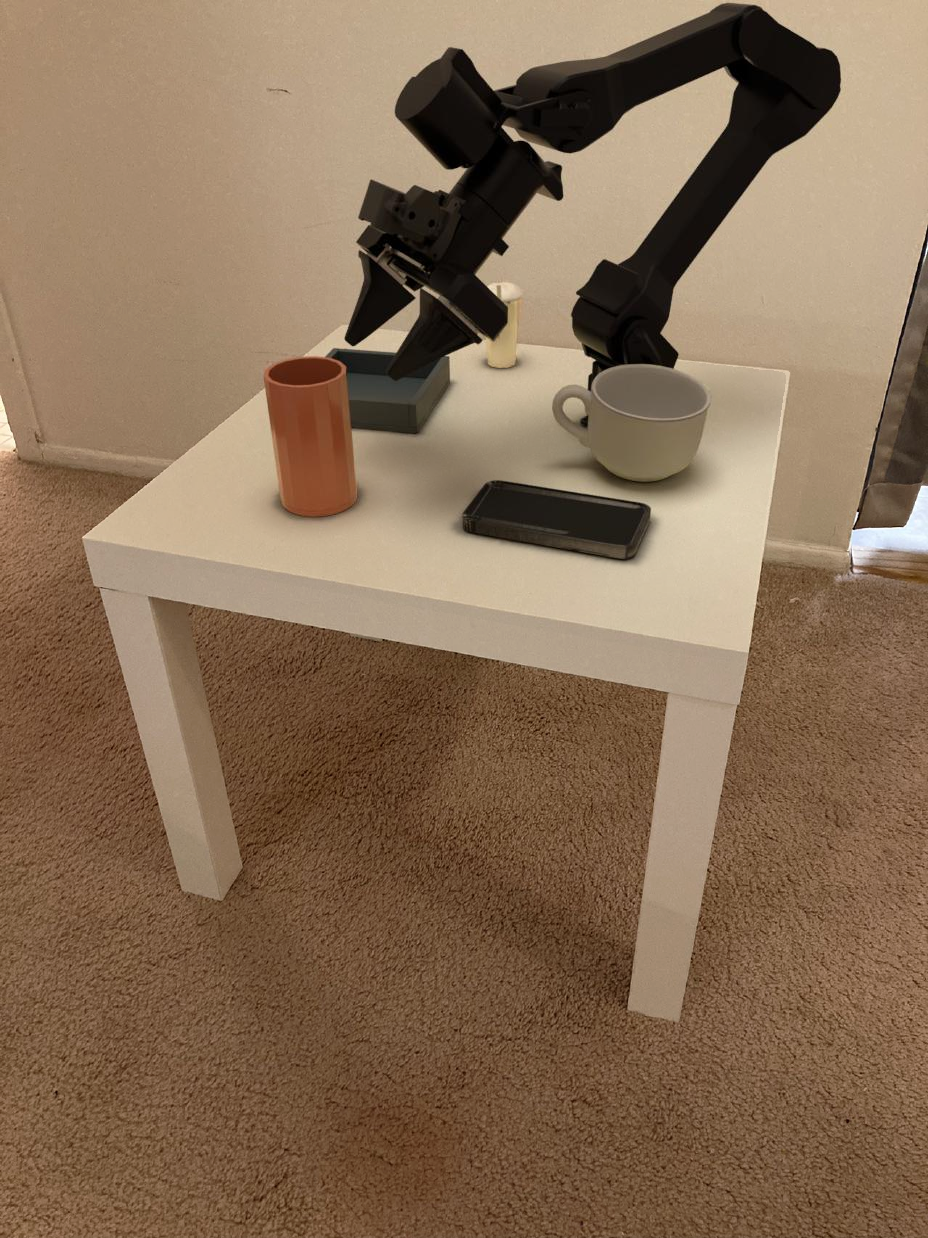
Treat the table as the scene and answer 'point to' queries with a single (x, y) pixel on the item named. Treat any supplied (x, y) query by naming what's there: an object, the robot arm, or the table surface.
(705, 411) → the teacup
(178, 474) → the table surface
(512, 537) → the phone
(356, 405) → the tray
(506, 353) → the milkshake
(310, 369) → the cup
